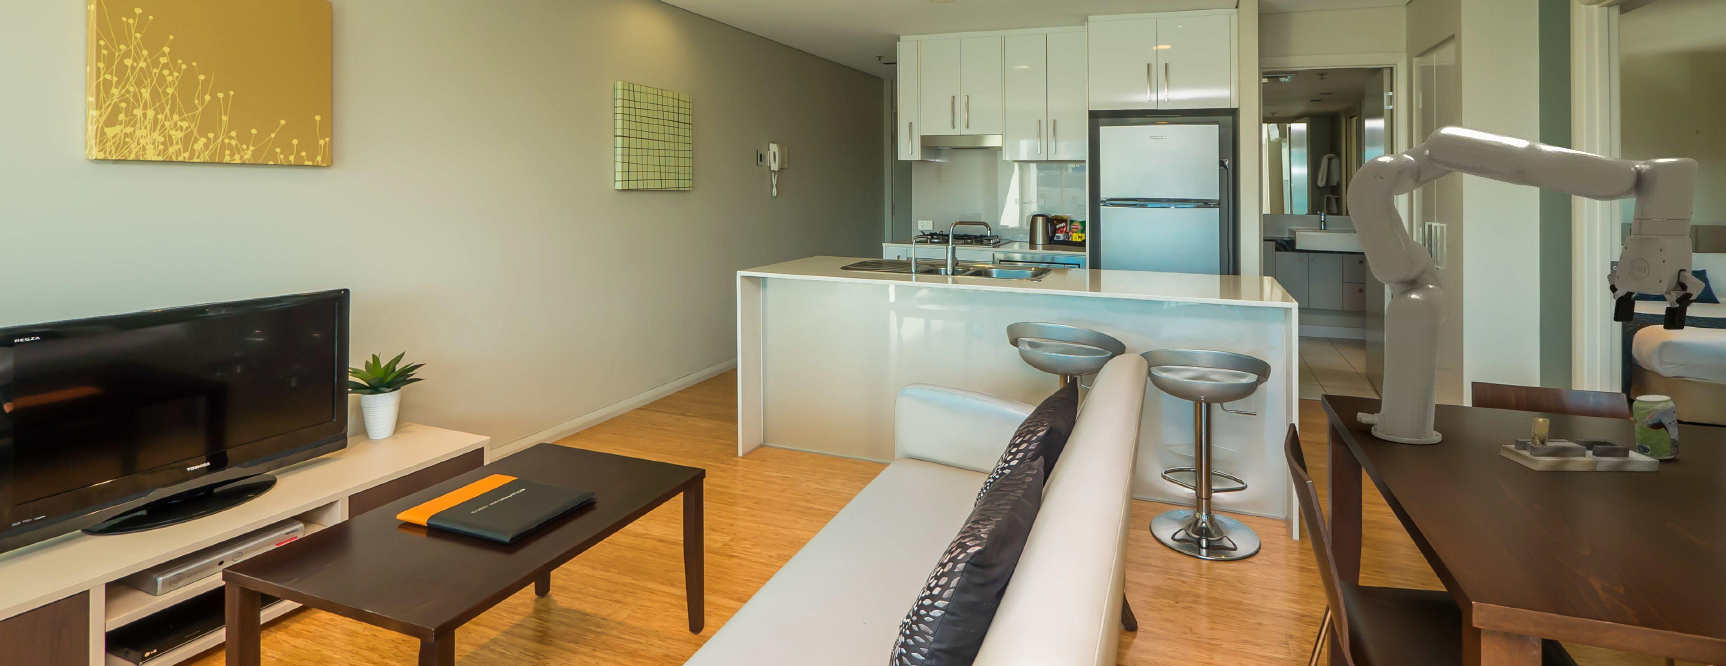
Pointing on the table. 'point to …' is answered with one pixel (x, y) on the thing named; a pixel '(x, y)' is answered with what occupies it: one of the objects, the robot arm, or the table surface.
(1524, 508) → the table surface
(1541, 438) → the bolt
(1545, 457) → the lock board
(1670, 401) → the beverage can
